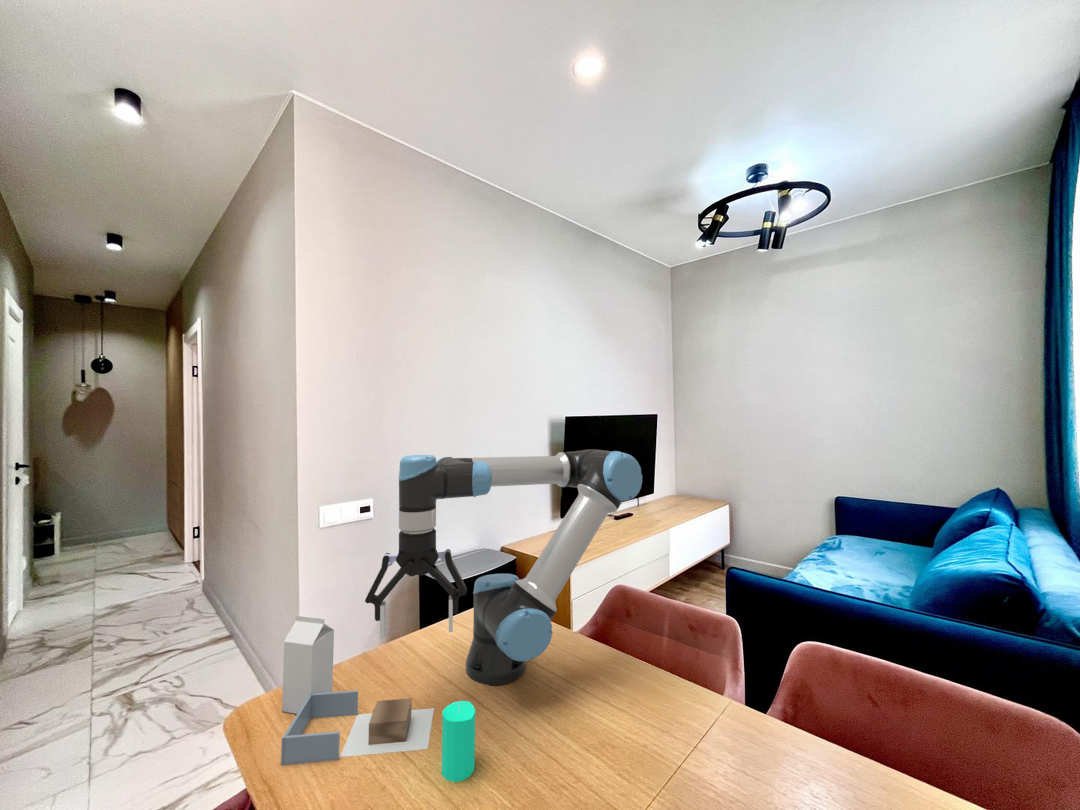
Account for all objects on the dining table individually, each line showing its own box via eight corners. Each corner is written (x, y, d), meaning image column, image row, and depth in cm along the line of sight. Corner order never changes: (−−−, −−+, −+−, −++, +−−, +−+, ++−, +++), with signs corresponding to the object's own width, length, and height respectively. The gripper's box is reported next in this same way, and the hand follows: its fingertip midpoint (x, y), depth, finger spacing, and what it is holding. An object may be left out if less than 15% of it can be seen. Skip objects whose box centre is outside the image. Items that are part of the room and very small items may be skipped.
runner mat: (434, 709, 95) (434, 708, 95) (427, 750, 84) (427, 748, 84) (357, 715, 93) (357, 714, 93) (339, 758, 81) (339, 757, 81)
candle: (446, 788, 75) (447, 717, 75) (437, 764, 80) (438, 697, 81) (479, 775, 78) (480, 706, 78) (468, 753, 83) (469, 688, 83)
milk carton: (310, 716, 93) (312, 626, 94) (281, 712, 94) (284, 622, 95) (332, 696, 100) (334, 612, 101) (305, 692, 101) (307, 609, 102)
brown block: (411, 717, 92) (411, 698, 93) (405, 741, 85) (406, 720, 86) (376, 720, 91) (377, 700, 92) (368, 745, 84) (368, 723, 85)
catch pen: (357, 714, 94) (358, 690, 94) (338, 761, 81) (338, 733, 81) (308, 718, 92) (309, 693, 93) (280, 766, 79) (281, 738, 80)
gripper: (476, 522, 97) (477, 618, 97) (358, 528, 93) (357, 629, 92) (478, 530, 90) (478, 635, 89) (350, 537, 85) (349, 647, 85)
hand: (417, 632), depth 91 cm, fingers open, 13 cm apart
